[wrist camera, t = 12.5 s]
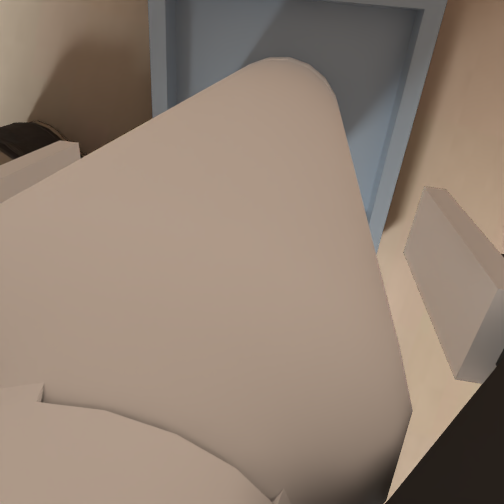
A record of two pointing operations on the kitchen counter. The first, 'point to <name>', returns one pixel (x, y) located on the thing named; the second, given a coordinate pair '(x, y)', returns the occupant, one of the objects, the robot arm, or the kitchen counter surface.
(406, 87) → the tray
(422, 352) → the kitchen counter surface
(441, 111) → the kitchen counter surface
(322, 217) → the bottle
